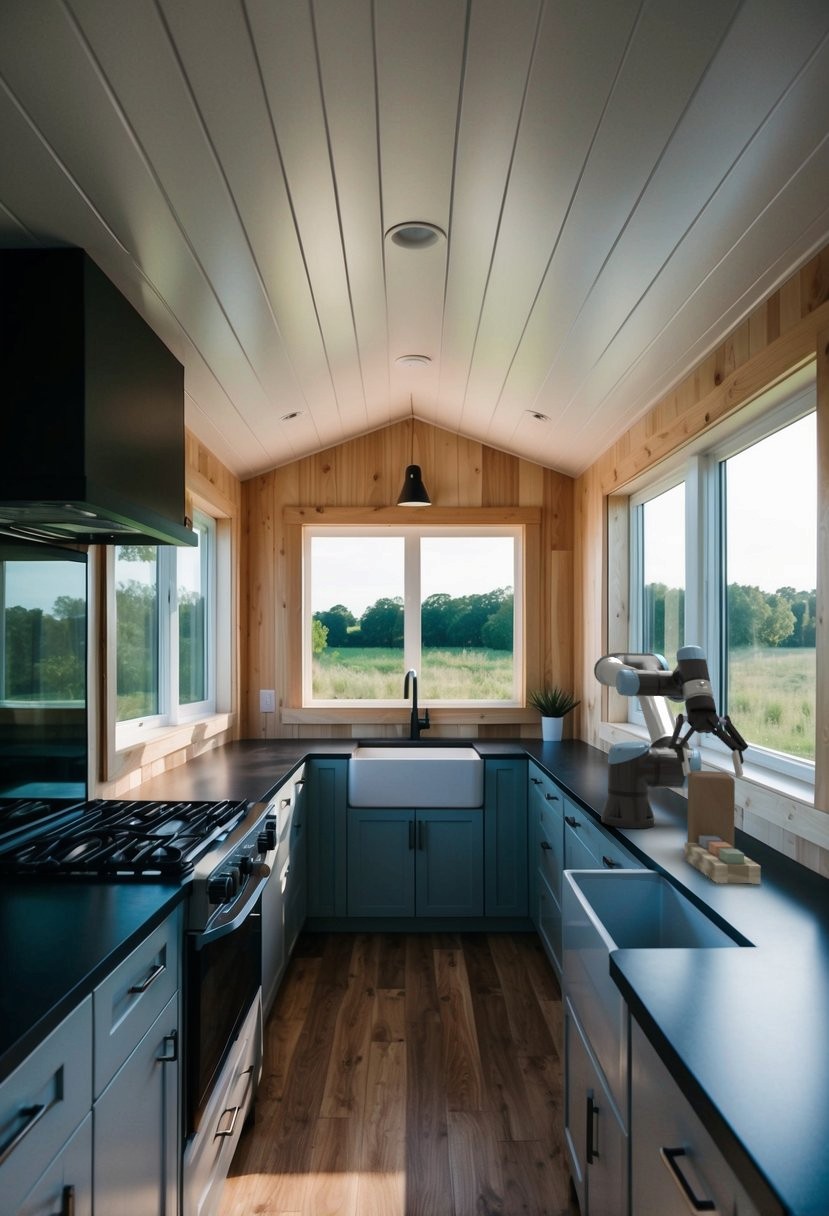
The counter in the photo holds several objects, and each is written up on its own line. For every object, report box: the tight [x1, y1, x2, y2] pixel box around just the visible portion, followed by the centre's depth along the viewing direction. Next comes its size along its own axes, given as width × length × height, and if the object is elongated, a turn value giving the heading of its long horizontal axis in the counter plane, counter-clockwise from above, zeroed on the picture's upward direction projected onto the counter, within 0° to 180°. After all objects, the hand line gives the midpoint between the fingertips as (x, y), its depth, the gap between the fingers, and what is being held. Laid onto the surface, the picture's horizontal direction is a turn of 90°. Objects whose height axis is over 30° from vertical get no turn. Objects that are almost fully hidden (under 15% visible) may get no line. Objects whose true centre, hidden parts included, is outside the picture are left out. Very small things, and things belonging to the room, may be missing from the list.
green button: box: [719, 848, 745, 864], centre depth 177 cm, size 4×4×4 cm
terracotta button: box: [709, 842, 733, 856], centre depth 183 cm, size 4×4×4 cm
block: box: [686, 770, 736, 849], centre depth 199 cm, size 10×10×20 cm
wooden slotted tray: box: [684, 842, 762, 885], centre depth 183 cm, size 19×10×4 cm, turn 1°
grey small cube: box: [699, 836, 722, 849], centre depth 189 cm, size 4×4×4 cm
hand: (713, 775), depth 200 cm, fingers open, 13 cm apart
